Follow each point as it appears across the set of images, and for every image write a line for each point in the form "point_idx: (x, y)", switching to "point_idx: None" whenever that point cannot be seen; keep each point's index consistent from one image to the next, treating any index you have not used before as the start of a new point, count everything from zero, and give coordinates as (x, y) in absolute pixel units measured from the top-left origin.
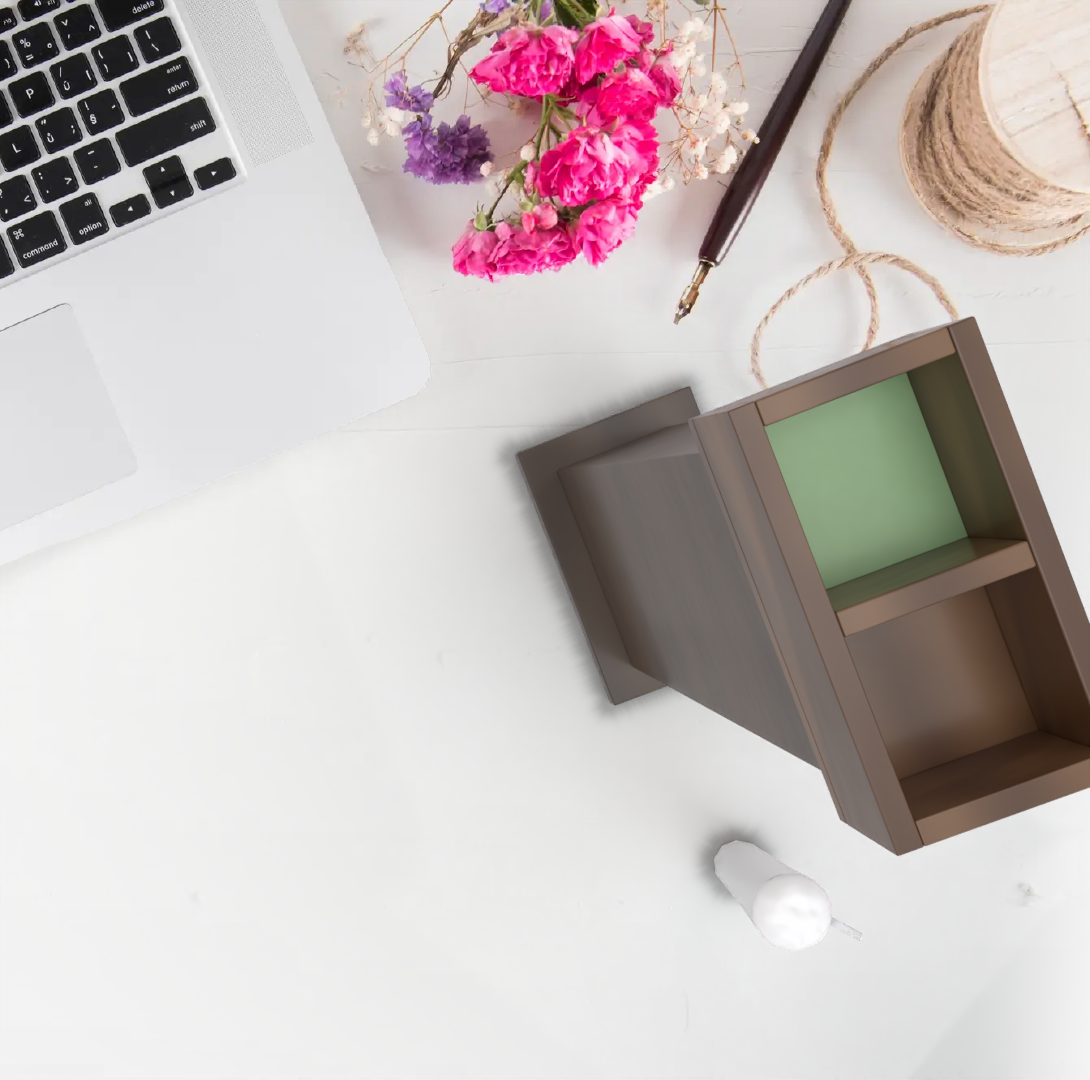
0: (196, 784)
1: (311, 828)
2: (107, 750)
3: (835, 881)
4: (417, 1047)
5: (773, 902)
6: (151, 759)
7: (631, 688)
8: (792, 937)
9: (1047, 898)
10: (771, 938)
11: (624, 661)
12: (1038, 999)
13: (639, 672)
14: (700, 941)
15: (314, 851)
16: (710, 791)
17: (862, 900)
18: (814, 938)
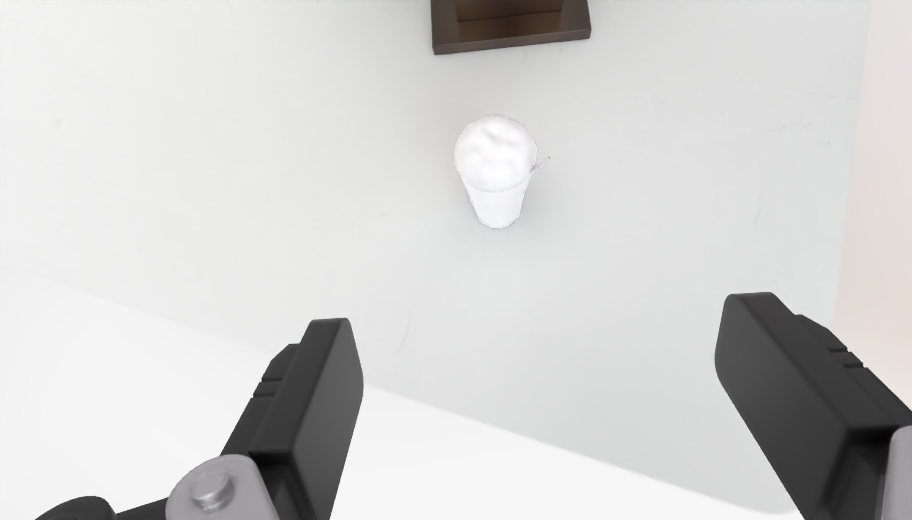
0: (105, 44)
1: (167, 93)
2: (61, 8)
3: (584, 248)
4: (158, 294)
5: (473, 125)
6: (86, 20)
7: (450, 36)
8: (481, 161)
9: None
10: (461, 163)
11: (452, 16)
12: None
13: (461, 27)
14: (441, 269)
15: (161, 111)
16: None
17: (606, 273)
18: (504, 171)
